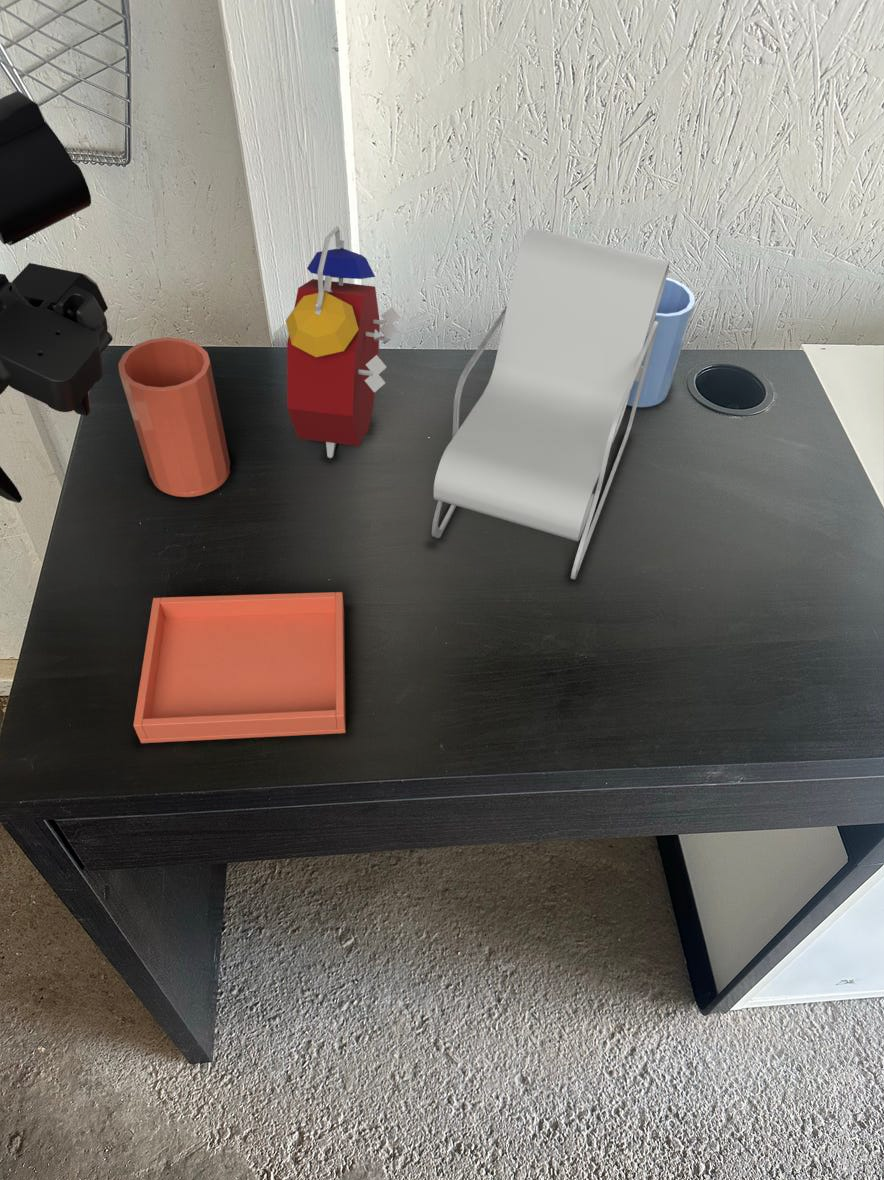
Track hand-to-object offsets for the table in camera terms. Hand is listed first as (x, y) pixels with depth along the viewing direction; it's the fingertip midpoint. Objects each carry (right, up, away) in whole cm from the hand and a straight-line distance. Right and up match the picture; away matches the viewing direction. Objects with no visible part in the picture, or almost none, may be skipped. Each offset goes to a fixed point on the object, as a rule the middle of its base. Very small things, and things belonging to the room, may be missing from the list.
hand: (50, 455), depth 67 cm
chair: (+38, +1, +20) cm, 43 cm away
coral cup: (+5, +2, +17) cm, 18 cm away
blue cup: (+50, +14, +30) cm, 60 cm away
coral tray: (+14, -17, +4) cm, 22 cm away
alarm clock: (+20, +8, +23) cm, 31 cm away
